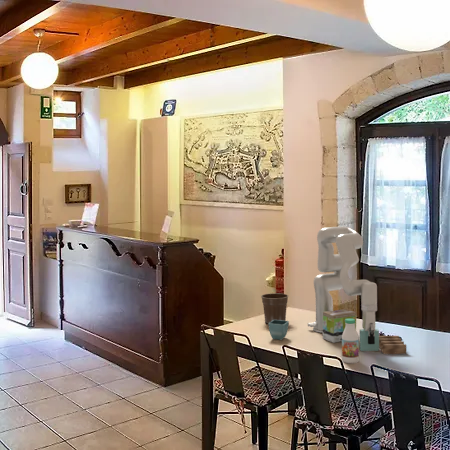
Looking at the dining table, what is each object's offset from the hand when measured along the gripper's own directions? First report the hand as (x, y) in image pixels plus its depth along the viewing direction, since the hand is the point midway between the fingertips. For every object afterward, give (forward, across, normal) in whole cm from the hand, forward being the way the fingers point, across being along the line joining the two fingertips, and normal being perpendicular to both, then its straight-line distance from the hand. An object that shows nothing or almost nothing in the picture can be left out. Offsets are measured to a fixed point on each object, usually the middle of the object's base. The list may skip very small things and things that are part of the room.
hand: (369, 341), depth 303 cm
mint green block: (+4, 0, 0) cm, 4 cm away
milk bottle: (+5, +18, -12) cm, 22 cm away
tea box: (+4, -20, -12) cm, 24 cm away
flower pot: (+4, -22, -44) cm, 50 cm away
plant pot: (+4, -57, -45) cm, 73 cm away
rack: (+4, -1, +11) cm, 12 cm away
